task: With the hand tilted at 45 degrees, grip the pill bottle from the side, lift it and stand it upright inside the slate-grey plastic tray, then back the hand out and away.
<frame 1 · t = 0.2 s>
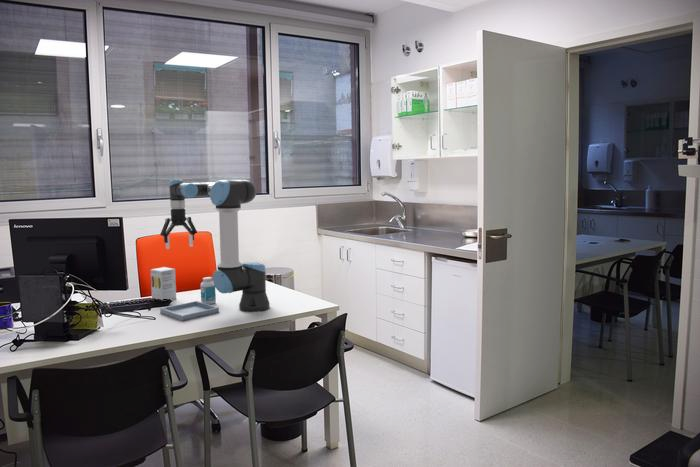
hand: (179, 247, 293), 27 cm above the table, tool pointing down, fingers open, 13 cm apart
tray: (189, 312, 264), on the table
pill bottle: (208, 303, 283), on the table
supplement box: (164, 300, 290), on the table
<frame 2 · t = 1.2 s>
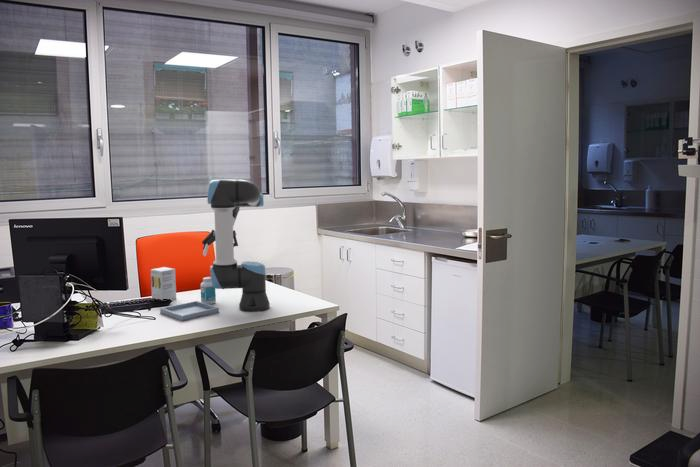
hand: (215, 255, 290), 24 cm above the table, tool tilted 45°, fingers open, 13 cm apart
nothing on the table moved.
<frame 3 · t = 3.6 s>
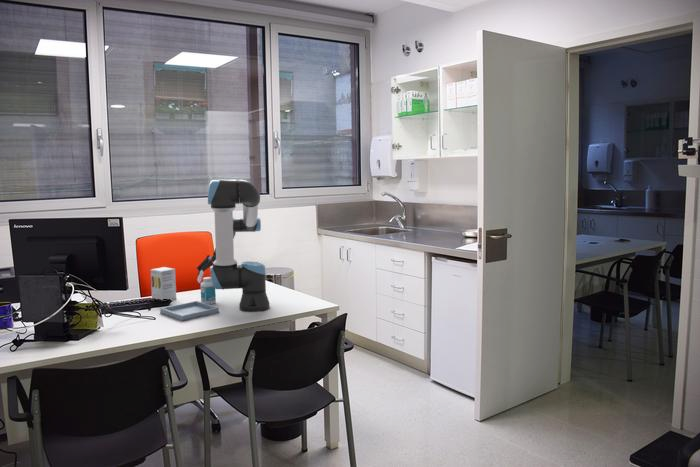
hand: (210, 282, 286), 10 cm above the table, tool tilted 45°, fingers open, 13 cm apart
nothing on the table moved.
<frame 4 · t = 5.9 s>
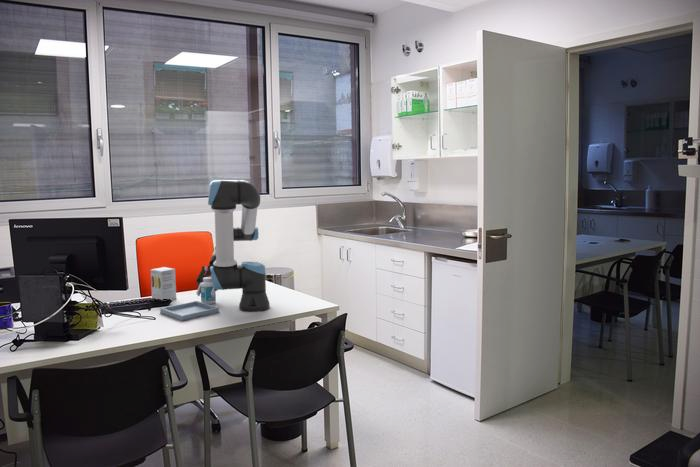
hand: (204, 295, 279), 5 cm above the table, tool tilted 45°, fingers closed on pill bottle, 7 cm apart
pill bottle: (208, 303, 283), on the table, touching gripper
everything else where it was.
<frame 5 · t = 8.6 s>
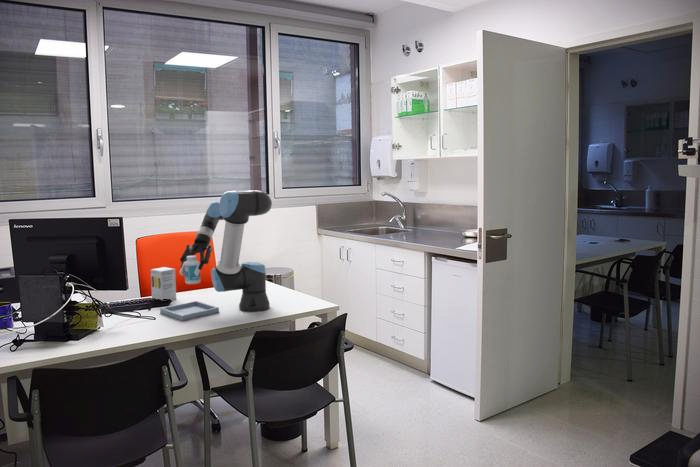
hand: (188, 274, 265), 18 cm above the table, tool tilted 45°, fingers closed on pill bottle, 7 cm apart
pill bottle: (192, 283, 269), point 13 cm above the table, touching gripper
everything else where it was.
when the fingers open (7 cm above the table, at t = 11.7 s): pill bottle drops 1 cm, resting on tray.
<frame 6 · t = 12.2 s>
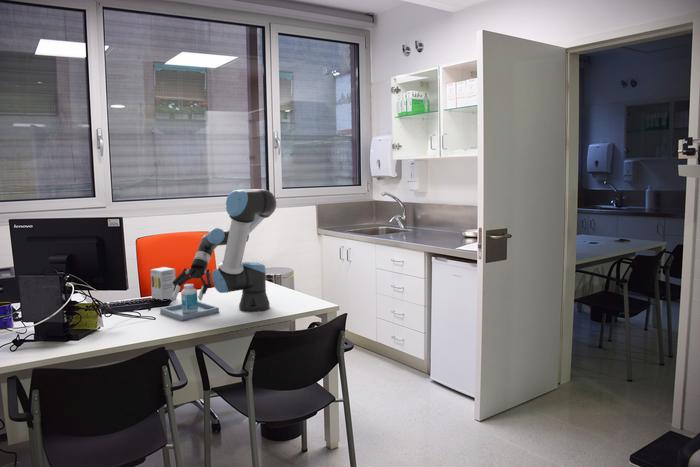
hand: (186, 298, 261), 8 cm above the table, tool tilted 45°, fingers open, 13 cm apart
pill bottle: (190, 312, 264), resting on tray
everything else where it was.
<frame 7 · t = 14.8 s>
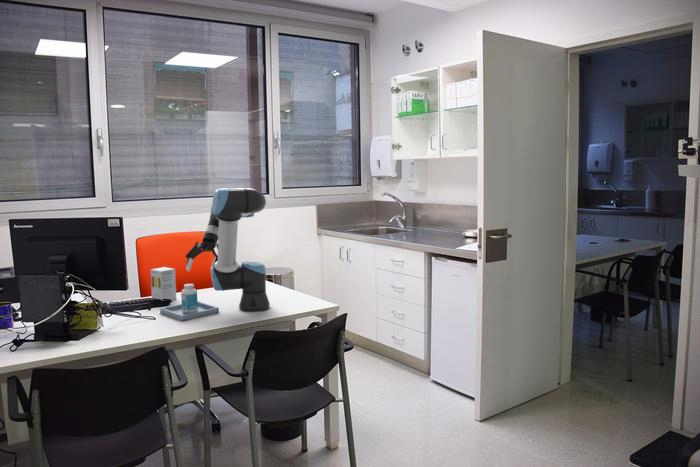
hand: (199, 270, 273), 19 cm above the table, tool tilted 40°, fingers open, 13 cm apart
nothing on the table moved.
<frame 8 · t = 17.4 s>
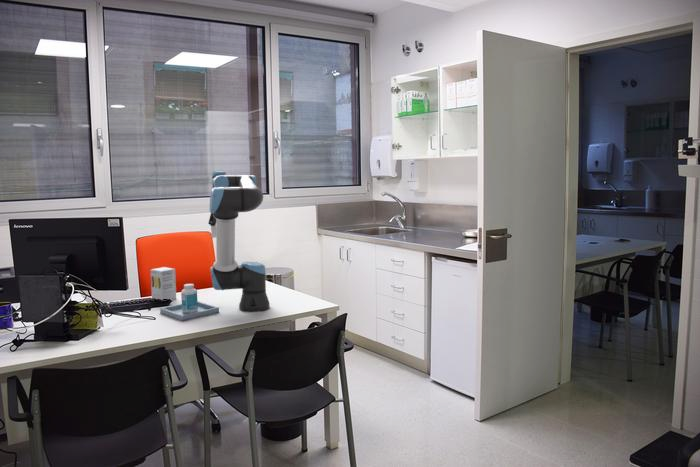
hand: (221, 238, 296), 32 cm above the table, tool pointing down, fingers open, 13 cm apart
nothing on the table moved.
at the end: pill bottle inside the target area on the tray (0.1 cm from its centre), point 0.4 cm above the tray's base; pill bottle tilted 0°; the gripper is holding nothing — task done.
